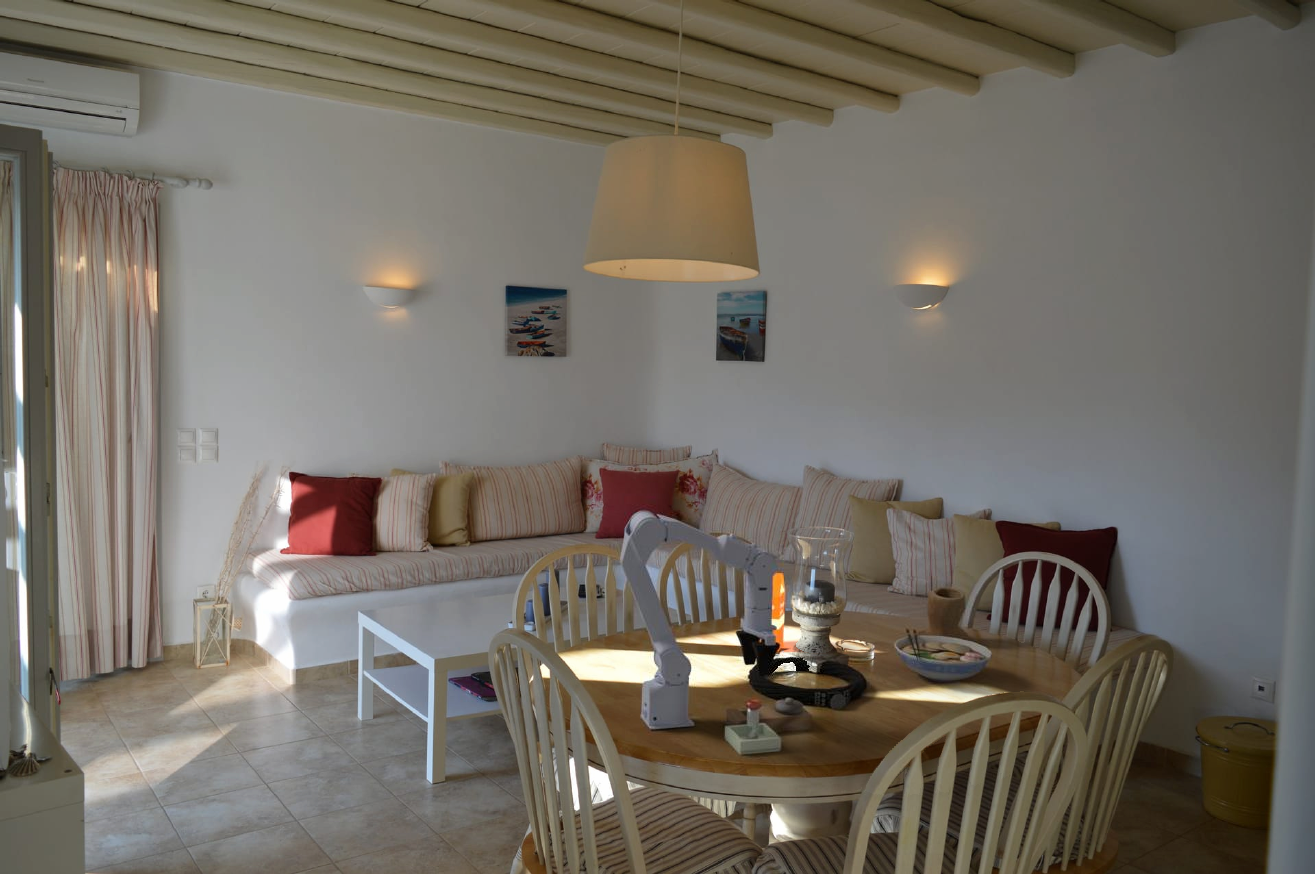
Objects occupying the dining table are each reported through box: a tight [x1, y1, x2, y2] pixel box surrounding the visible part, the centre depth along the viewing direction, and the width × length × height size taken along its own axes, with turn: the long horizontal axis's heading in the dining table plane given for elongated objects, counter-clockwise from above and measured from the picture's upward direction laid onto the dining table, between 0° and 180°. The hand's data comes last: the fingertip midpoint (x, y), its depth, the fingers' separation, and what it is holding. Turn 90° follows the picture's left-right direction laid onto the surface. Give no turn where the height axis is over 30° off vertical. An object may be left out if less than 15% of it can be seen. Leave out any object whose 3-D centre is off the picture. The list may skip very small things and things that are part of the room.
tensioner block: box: [725, 698, 813, 733], centre depth 203 cm, size 16×7×5 cm, turn 106°
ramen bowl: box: [893, 628, 993, 683], centre depth 239 cm, size 25×23×8 cm
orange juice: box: [759, 572, 786, 653], centre depth 262 cm, size 8×9×20 cm
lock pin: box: [745, 698, 762, 740], centre depth 193 cm, size 3×3×8 cm
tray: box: [724, 723, 782, 755], centre depth 193 cm, size 8×8×2 cm
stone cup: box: [916, 586, 969, 640], centre depth 270 cm, size 15×12×15 cm
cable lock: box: [747, 656, 868, 711], centre depth 229 cm, size 28×4×30 cm
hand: (756, 669), depth 207 cm, fingers open, 7 cm apart
